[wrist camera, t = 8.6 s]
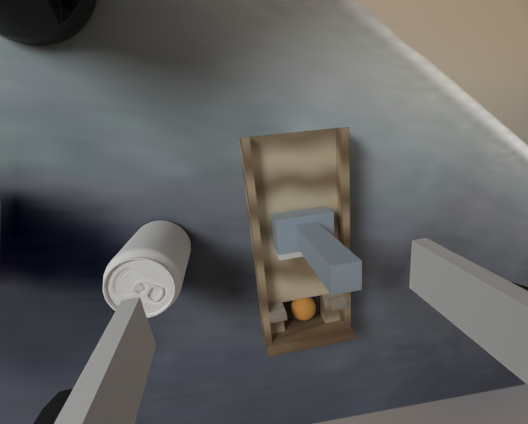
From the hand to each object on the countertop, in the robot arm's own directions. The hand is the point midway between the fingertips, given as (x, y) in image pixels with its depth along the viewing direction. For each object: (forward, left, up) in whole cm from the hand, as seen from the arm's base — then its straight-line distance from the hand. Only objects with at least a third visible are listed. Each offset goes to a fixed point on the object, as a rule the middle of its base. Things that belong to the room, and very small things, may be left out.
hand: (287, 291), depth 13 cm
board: (+9, +7, -27) cm, 30 cm away
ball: (+21, +7, -25) cm, 33 cm away
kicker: (+6, +7, -24) cm, 26 cm away
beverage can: (+7, -13, -28) cm, 31 cm away
